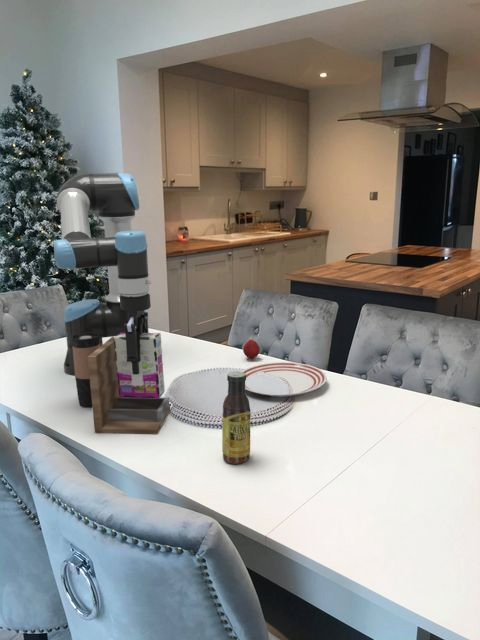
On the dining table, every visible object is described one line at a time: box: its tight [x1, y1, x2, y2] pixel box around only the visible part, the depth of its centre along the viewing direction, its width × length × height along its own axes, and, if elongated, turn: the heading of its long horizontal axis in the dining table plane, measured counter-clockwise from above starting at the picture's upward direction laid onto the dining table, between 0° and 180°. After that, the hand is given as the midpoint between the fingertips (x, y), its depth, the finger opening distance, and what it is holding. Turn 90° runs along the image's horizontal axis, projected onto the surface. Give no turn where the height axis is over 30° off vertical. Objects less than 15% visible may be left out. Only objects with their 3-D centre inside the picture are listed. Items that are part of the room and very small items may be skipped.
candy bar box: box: [114, 332, 165, 398], centre depth 136 cm, size 11×5×16 cm, turn 81°
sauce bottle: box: [221, 370, 252, 465], centre depth 115 cm, size 6×6×20 cm
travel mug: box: [72, 333, 100, 409], centre depth 149 cm, size 8×8×20 cm
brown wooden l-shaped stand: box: [88, 336, 171, 435], centre depth 137 cm, size 18×16×20 cm
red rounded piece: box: [242, 337, 261, 361], centre depth 186 cm, size 6×6×8 cm
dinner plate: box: [241, 361, 327, 397], centre depth 161 cm, size 28×27×3 cm
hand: (140, 380), depth 137 cm, fingers closed on candy bar box, 5 cm apart
